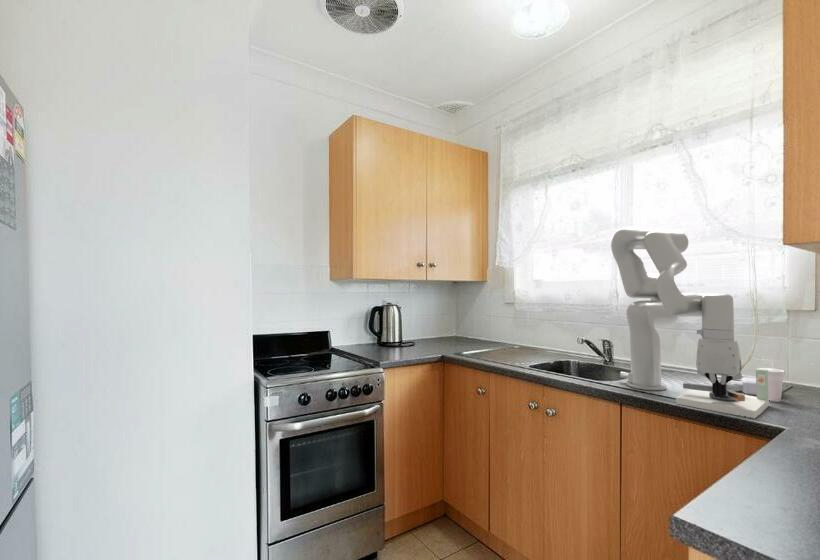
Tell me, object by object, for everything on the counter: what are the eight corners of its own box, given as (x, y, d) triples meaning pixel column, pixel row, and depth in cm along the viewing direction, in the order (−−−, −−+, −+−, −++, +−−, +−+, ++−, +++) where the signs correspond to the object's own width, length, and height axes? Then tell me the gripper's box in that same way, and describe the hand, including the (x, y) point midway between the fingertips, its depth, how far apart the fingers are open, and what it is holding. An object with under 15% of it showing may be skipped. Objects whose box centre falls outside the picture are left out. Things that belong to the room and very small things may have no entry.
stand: (675, 403, 123) (674, 368, 123) (695, 393, 135) (694, 361, 135) (755, 418, 108) (754, 378, 109) (769, 405, 120) (768, 369, 121)
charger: (722, 387, 144) (777, 393, 135) (723, 392, 137) (782, 399, 128) (721, 374, 144) (777, 379, 135) (722, 378, 137) (781, 384, 128)
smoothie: (791, 403, 122) (789, 358, 123) (767, 402, 124) (766, 357, 124) (776, 397, 129) (775, 354, 129) (754, 397, 130) (752, 354, 130)
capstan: (708, 405, 113) (707, 390, 113) (681, 392, 128) (680, 379, 128) (776, 407, 111) (775, 392, 111) (740, 393, 125) (740, 380, 125)
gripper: (684, 333, 121) (685, 393, 121) (747, 338, 109) (749, 404, 109) (692, 332, 126) (693, 389, 125) (753, 336, 114) (755, 399, 114)
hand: (719, 396), depth 117 cm, fingers closed
